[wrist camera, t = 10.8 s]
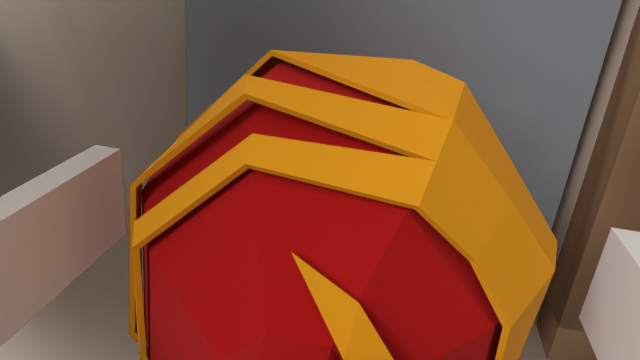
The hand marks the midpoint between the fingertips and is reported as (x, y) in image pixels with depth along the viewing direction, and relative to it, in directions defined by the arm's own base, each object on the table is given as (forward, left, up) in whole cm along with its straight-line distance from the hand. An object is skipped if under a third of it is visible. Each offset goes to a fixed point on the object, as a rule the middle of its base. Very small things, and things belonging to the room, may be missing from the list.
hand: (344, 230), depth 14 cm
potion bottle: (0, 0, -6) cm, 6 cm away
